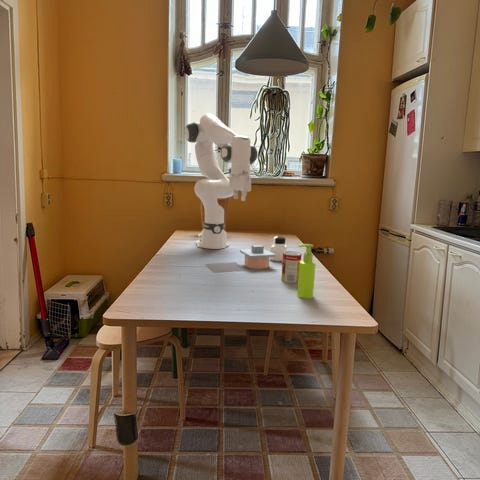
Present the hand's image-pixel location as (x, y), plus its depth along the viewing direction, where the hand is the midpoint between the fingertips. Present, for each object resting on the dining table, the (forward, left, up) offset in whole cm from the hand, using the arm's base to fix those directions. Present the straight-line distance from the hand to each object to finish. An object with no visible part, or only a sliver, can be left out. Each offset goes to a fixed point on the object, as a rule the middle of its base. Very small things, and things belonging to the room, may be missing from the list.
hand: (239, 199), depth 195 cm
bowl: (+9, +7, -31) cm, 33 cm away
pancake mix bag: (-75, +12, -31) cm, 82 cm away
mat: (+9, -9, -31) cm, 34 cm away
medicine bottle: (-2, +24, -31) cm, 39 cm away
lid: (+9, +7, -25) cm, 28 cm away
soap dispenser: (+54, +7, -31) cm, 63 cm away
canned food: (+34, +12, -31) cm, 48 cm away
